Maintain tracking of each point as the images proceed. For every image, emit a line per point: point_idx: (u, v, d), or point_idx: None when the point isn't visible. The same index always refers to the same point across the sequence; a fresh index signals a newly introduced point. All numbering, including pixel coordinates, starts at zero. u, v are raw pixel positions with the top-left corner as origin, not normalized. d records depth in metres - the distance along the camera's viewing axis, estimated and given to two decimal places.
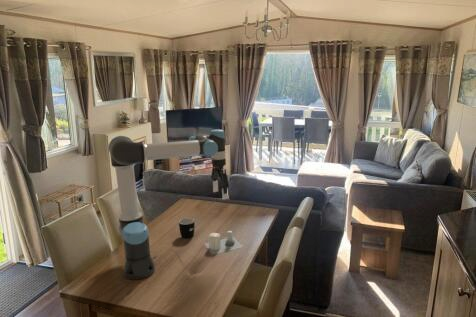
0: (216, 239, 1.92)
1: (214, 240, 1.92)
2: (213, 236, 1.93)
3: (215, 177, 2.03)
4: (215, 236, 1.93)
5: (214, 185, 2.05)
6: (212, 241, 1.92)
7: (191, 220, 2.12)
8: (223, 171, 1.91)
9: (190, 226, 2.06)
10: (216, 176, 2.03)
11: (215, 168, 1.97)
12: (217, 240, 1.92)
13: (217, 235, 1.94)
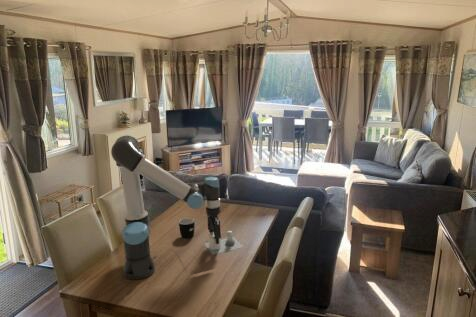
0: None
1: None
2: (213, 236, 1.93)
3: (211, 227, 1.96)
4: None
5: None
6: (212, 241, 1.92)
7: (191, 220, 2.12)
8: (218, 223, 1.86)
9: (190, 226, 2.06)
10: (212, 226, 1.96)
11: (209, 216, 1.92)
12: None
13: None
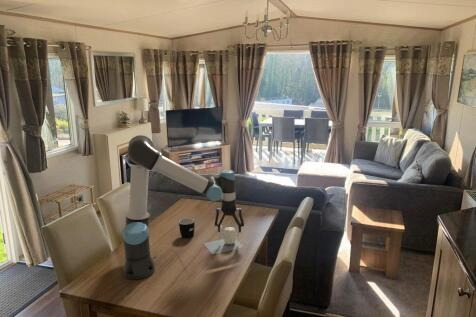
0: None
1: (234, 232, 1.97)
2: (231, 230, 1.97)
3: None
4: (232, 229, 1.97)
5: (221, 231, 1.97)
6: (233, 234, 1.96)
7: (191, 220, 2.12)
8: None
9: (190, 226, 2.06)
10: (222, 220, 1.97)
11: (226, 210, 1.93)
12: None
13: (231, 228, 1.99)
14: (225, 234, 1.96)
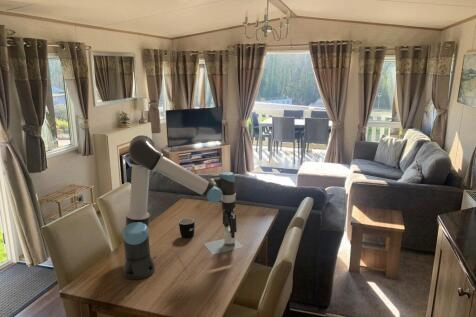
0: None
1: None
2: None
3: (226, 222, 1.99)
4: None
5: None
6: None
7: (191, 220, 2.12)
8: (233, 217, 1.89)
9: (190, 226, 2.06)
10: (227, 220, 1.99)
11: (225, 210, 1.95)
12: None
13: None
14: (225, 234, 1.96)
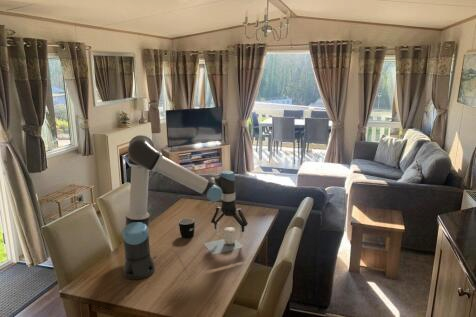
0: None
1: None
2: (232, 229, 1.98)
3: None
4: (231, 228, 1.99)
5: (217, 228, 1.98)
6: None
7: (191, 220, 2.12)
8: (241, 210, 1.93)
9: (190, 226, 2.06)
10: (220, 218, 1.97)
11: (225, 210, 1.93)
12: None
13: (229, 228, 1.99)
14: (229, 235, 1.95)
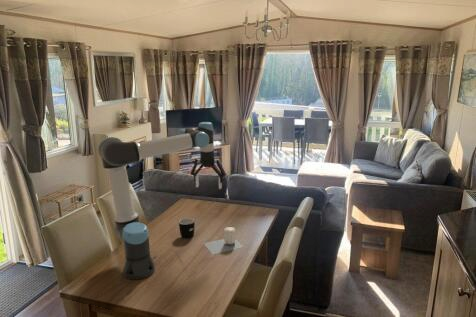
0: None
1: None
2: (232, 229, 1.98)
3: (198, 171, 2.02)
4: (231, 228, 1.99)
5: (197, 180, 2.03)
6: None
7: (191, 220, 2.12)
8: (219, 161, 1.97)
9: (190, 226, 2.06)
10: (199, 170, 2.02)
11: (204, 161, 1.97)
12: None
13: (229, 228, 1.99)
14: (229, 235, 1.95)
